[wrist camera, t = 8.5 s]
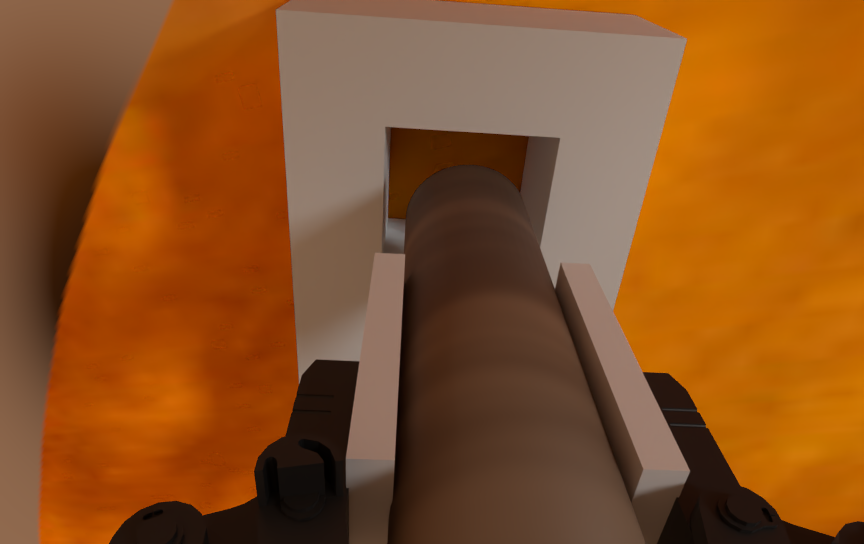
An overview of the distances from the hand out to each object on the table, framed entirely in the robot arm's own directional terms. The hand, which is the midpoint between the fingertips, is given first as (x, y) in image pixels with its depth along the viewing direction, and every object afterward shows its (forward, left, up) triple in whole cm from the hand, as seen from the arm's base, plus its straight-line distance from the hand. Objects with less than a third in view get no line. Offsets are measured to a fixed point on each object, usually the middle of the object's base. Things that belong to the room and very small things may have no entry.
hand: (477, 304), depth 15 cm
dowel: (0, 0, -5) cm, 5 cm away
